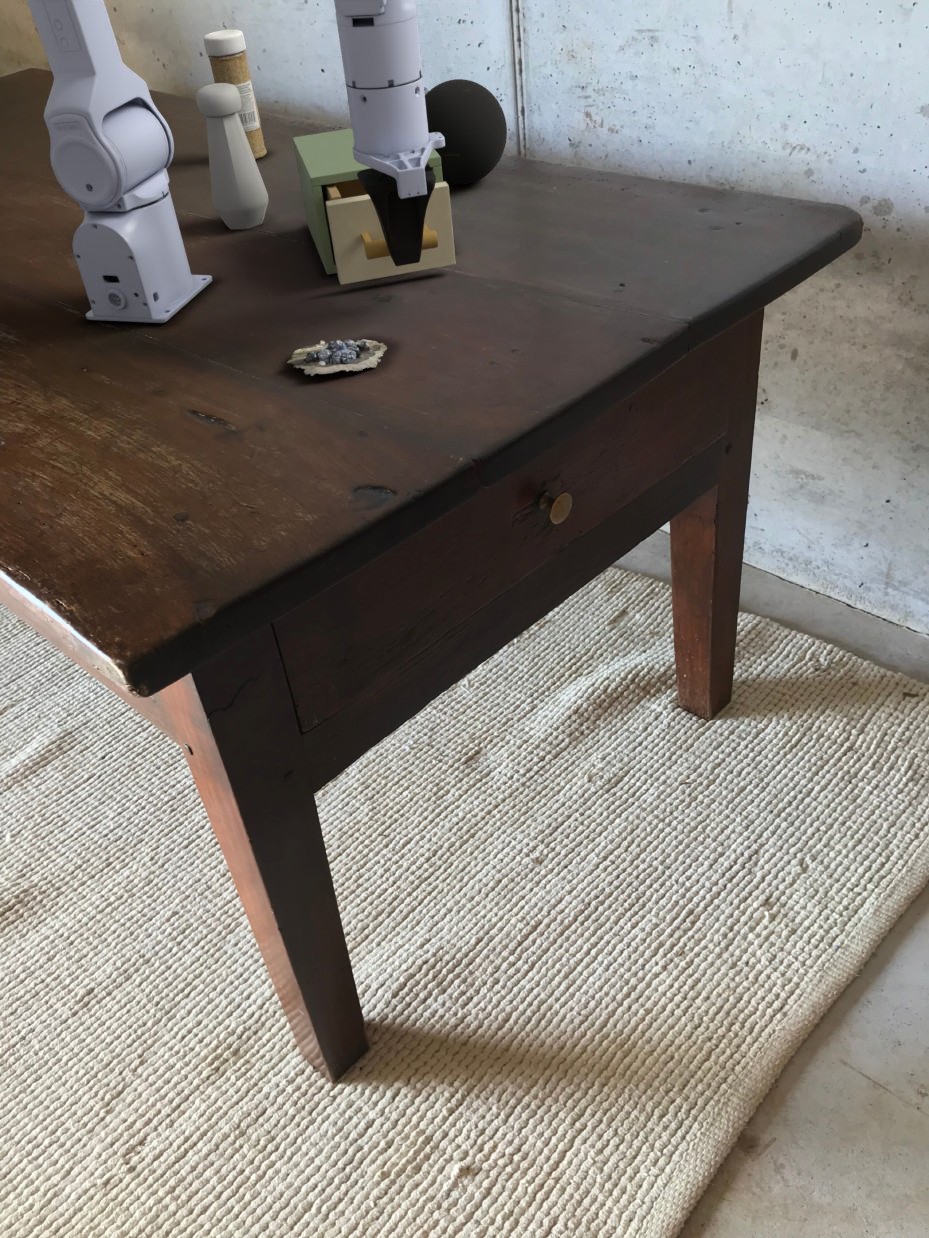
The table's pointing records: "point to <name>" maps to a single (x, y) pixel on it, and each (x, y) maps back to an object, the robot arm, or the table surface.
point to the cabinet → (331, 179)
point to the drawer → (381, 233)
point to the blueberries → (338, 356)
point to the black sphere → (466, 129)
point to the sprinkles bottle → (236, 80)
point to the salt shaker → (231, 159)
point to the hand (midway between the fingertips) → (406, 261)
